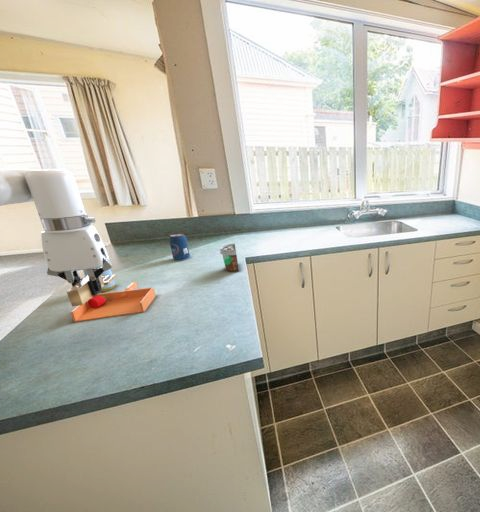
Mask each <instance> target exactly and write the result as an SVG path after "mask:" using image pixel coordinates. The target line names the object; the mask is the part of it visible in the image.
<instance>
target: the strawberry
mask: <svg viewBox="0 0 480 512" xmlns="http://www.w3.org/2000/svg"><path fill="white" fill-rule="evenodd" d="M106 302H107V298H106V297H105V296H96V297H94V298H92V299H89V300H88V304H89V305H90V307H92V308H98V307H100V306H102V305H104V304H105V303H106Z"/></svg>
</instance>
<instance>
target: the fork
mask: <svg viewBox="0 0 480 512" xmlns="http://www.w3.org/2000/svg"><path fill="white" fill-rule="evenodd" d="M112 275H113V276H112V277H110V275H108V276H106V277H105V278H104V276H101V275H100V277H99V280H100V283H101V286H102V287H103V286H105V285H109V284H110V282H112V281H113V280H114V281H115V279H116V278H117V274H115V273H114V274H112ZM81 279H82V280H81V281H80V282H78V283H77V284H76V285H74V286H73V287H70V288H68V289H67V291H66V294H67V297H68V299H69V302H70V305H71V307H77V306H80V305H84V304H85V303H86V302H87V301H88V300H89V299H90V298H91V297H92V296H93V295H92V294H91V291H90V288H89V285H88V281H89V276H86V277H85V276H84V278H81Z"/></svg>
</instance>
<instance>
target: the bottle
mask: <svg viewBox="0 0 480 512" xmlns="http://www.w3.org/2000/svg"><path fill="white" fill-rule="evenodd" d="M101 267H103V265H102V266H101ZM99 268H100V267H98V269H99ZM82 271H83V274H84V278H85V277H86V276H88V274H87V271H86V269H84V270H82ZM108 275H110V277H112V276H113V275H114V274H113V273H112V268H111V269H109V270H107V271H105V272H103V273H102V274H101V276H104V278H105V277H106V276H108ZM115 287H116V282H115V279H114V280H113V281H112V282H110V284H109V285H105V286H103V287H102V290H101V292H99V293H98V294H102V293H107V292H109V291H111V290H113V289H114V288H115Z"/></svg>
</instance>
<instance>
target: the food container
mask: <svg viewBox="0 0 480 512" xmlns="http://www.w3.org/2000/svg"><path fill="white" fill-rule="evenodd" d="M219 254H220V255H222V259H223V263H224V267H225V270H226V271H227V272H229V273H236V272H240V268H239V263H238V254H237V249H236V243H229V244H225V245H223V246H221V247H220V250H219Z"/></svg>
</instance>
